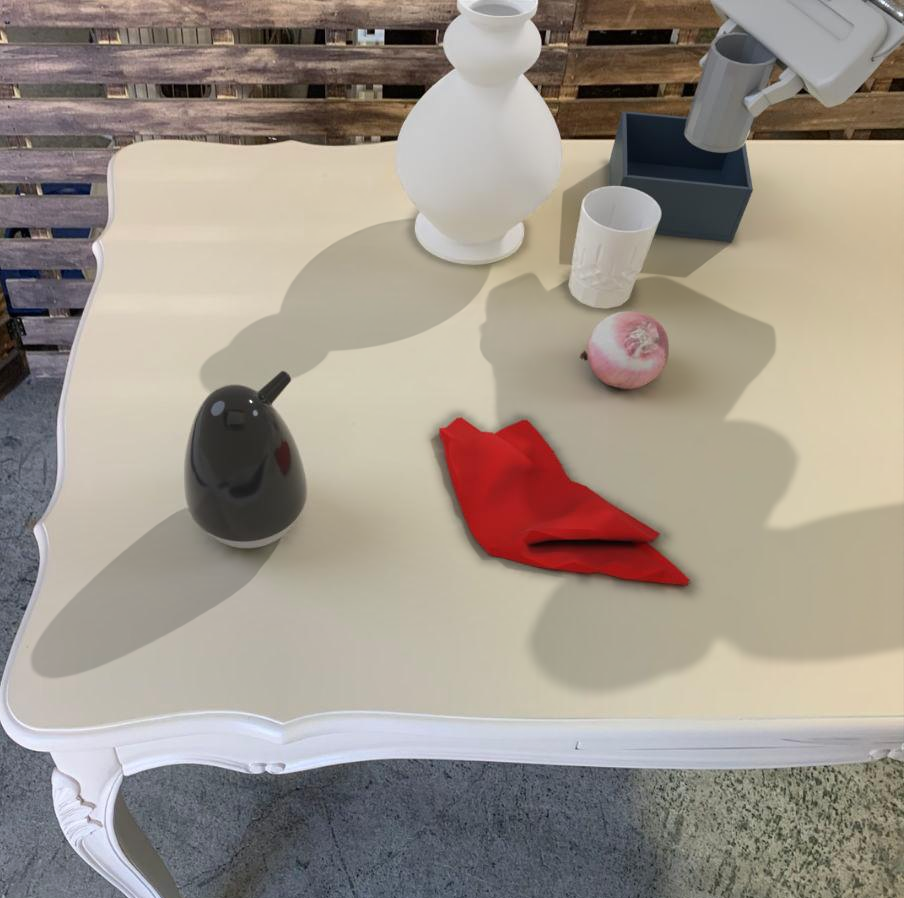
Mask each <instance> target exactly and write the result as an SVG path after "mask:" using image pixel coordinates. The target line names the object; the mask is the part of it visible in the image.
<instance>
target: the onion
mask: <svg viewBox="0 0 904 898" xmlns="http://www.w3.org/2000/svg"><path fill="white" fill-rule="evenodd" d="M669 349H670V344H669V338H668V335H667V332H666V330H665V328H664V327H663V326H662V324H661V323H660V322H659V321H658V320H657V319H656V318H654V317H652V316H651V315H648V314H646V313H644V312H640V311H633V310H631V311H630V310H629V311H628V310H627V311H626V310H625V311H619V312H618V311H617V312H615V313H613V314H611V315H608V316H606V317H605V318H604V319H602V320H601V321H600V322H598V324H597V325H596V326H595V327H594V328H593V330H592V332H591V333H590V336H589V338H588V341H587V351H586V350H583V351H582V353H581V354H580V355H579V359H581V360H582V361H584V362H585V361H588V366H589V368H590V370H591V371H592V373H593V374H594V376H595V377H596V378H597V379H598V380H599V381H601V382H602V383H603V384H605V385H607V386H610V387H614V388H615V389H617V390H619V391H621V390H634V389H637V388H641V387H643V386H645V385H648V384H649V383H651V382H652V381H654V380H655V379H656V378H658V376H660V374H662V373H663V371H664V370H665V367H666V366H667V362H668V359H669V352H670V350H669Z"/></svg>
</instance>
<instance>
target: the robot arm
mask: <svg viewBox="0 0 904 898" xmlns="http://www.w3.org/2000/svg"><path fill="white" fill-rule="evenodd" d="M897 1H898V3H899V4H900V5H898V3H896V2H895V1H894V0H709V2H710V4H711V5H712V7H713V9H714V11H715V12H716V14H717V16H718V17H719V18H720V19H721V20H722V21H723V22H724V23H723V24H722V25H721V26H720V27H719V29H718V31H717V33H716V35H715V37H718V36H720V35H722V34H726V33H734V32H738V33H748V34H750V35H751V36H752V37H753V38H754V39H756V40H757V41H758V42H759V43H760V44H762V45H763V46H764V47H765V48H766V49H768V50H769V51H770V52H771V53H772V54H774V55H775V56H776V57H777V58H778V59H777V62H776V65H775V66H777V68H779V69H780V70H781V71H782V72H781V73H780V74H779V75H778V80H779V81H777V82H775V83H773V84H770V85H769V86H767V88H765V89H763V90H761V91H762V92H761V91H760V90H759V89H758V88H757V87H755V88H754V89H753V90H752V91H751V92H750V94H749V95H747V96H745V97H744V99H743V100H742V104H743V106H744V108H745V109H746V110H747V111H748V112H749V113H750V114H751V115H752V116H753V117H755V118H757V117H758V116H760V115H761V114H762V113H763V112H764V111H765V110H766V109H767V108H768V107H769V106H770V105H771V106H772V105H775V104H777V103H780V102H783V101H786V100H788V99H791V98H793V97H794V96H795V95H797V94H798V93H799V92H800V91H801V90H802V89H804V90H805V91H806V92H807V93H809V94H810V95H811V96H812V97H813V98H814V99H816V100H817V101H818V102H819V103H820V104H821V105H823V106H824V107H825V108H832V107H836V106H839V105H843V103H845V102H846V101H847V100H848V99H849V98H850V97H851V96H853V94H855V92H856V91H857V90H858V89H859V88H861V87H862V85H863V84H864V83H865V82H866V81H867V80H868V79H869V78H870V77H871V76H872V74H873V73H874V72H875V71H876V70H877V69H878V68H879V67H880V65H882V63H883V62H884V61H885V59H886V58H887V57H888V56H889V55H891V54H892V53H893V52H894V51H895V50H896V49H898V47H899V46H901V44H903V43H904V0H897ZM707 54H708V52H706V54H704V56H703V57H702V58H700V60H699V62H698V65H699V67H700V68H701V70H703V67H704V64H705V61H706V58H707Z"/></svg>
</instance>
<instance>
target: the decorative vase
mask: <svg viewBox="0 0 904 898" xmlns="http://www.w3.org/2000/svg"><path fill="white" fill-rule="evenodd" d="M538 5H539V0H456V8H457V11H458V12H459V13H460V14H459V15H458V16H457V17H455V18H454V19H453V20H452V21H451V23H449V24H448V26H447V28H446V29H445V32H444V35H443V39H442V45H443V47H442V48H443V52H444V55H445V56H446V58H447V60H448V62H449V63H450V64H451V65H452V66H453V69H452V70H450V71H449V72H447V73H446V74H445V75H443V76H442V78H440V79H439V80H438V81H437V82H436V83H434V84H433V85H432V86H431V87H430V88H429V89H428V90H427V91H426V92H425V93H424V94H423V95H422V96H421V97H420V98H419V100H417V102H416V104H415V105H414V106H413V107H412V109H411V110H410V111H409V113H408V115H407V116H406V118H405V120H404V121H403V123H402V125H401V128H400V130H399V133H398V136H397V140H396V146H395V154H394V161H395V162H394V163H395V164H394V165H395V171H396V176H397V179H398V181H399V184H400V186H401V188H402V190H403V191H404V193H405V194H406V196H407V198H408V199H409V200H410V202H411V203H412V204H413V205H414V206H415V208H416V209H417V210H418V214H417V216H416V218H415V221H414V222H415V223H414V232H415V233H414V234H415V236H416V239H417V241H418V243H420V245H421V246H422V247H423V248H424V249H425V250H426V251H428V252H429V253H430V254H432V255H434V256H435V257H438V258H439V259H442V260H445V261H448V262H452V263H454V264H455V263H456V264H461V265H486V264H487V265H488V264H492V263H496V262H499V261H502V260H504V259H506V258H508V257H509V256H511V255H513V254H514V253H515V252H516V251H517V250H518V249H519V248H520V247H521V245H522V243H523V240H524V237H525V235H524V234H525V226H524V223H523V222H524V221H525V220H526V219H528V218H529V217H531V215H533V213H535V212H536V211H537V210H538V209H540V208H541V207H542V206H543V205H544V204H545V202H546V201H547V200H548V199H549V197H550V196H551V195H552V193H553V192H554V191H555V188H556V187H557V183H558V182H559V178H560V175H561V172H562V166H563V164H562V163H563V144H562V138H561V135H560V131H559V127H558V124H557V122H556V120H555V118H554V116H553V114H552V112H551V110H550V108H549V107H548V104H547V103H546V101H545V99H544V98H543V97H542V95H541V94H540V93H539V91H538V90H537V88H536V87H535V86H534V85H533V84H532V83H531V82H530V81H529V79H528V78H527V77H526V76H525V75H524V74H525V73H526V72H527V71H528V70H530V69H531V68H532V67H533V66H534V64H535V63H536V62H537V61H538V59H539V57H540V54H541V51H542V38H541V37H542V36H541V34H540V31H539V30H538V28H537V26H536V24H535V23H534V22H533V21H532V20H531V19H533V17H534V16H536V14H537V11H538Z"/></svg>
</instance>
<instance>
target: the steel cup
mask: <svg viewBox="0 0 904 898" xmlns="http://www.w3.org/2000/svg"><path fill="white" fill-rule="evenodd" d="M707 53H708V54H707ZM707 53H706V54H707V58H706V61H705V64H704V67H703V70H702V69H701V70H702V71H701V73H700V77H699V79H698V84H697V87H696V89H695V93H694V96H693V99H692V102H691V105H690V109H689V111H688V114H687V116H686V117H687V121H686V124H685V129H684V134H685V137H686V138H687V140H688V141H689V142H690V143H692V144H693V145H694V146H696V147H698V148H701V149H703V150H706V151H711V152H717V153H726V152H732V151H736V150H738V149H740V148H741V147H742V146H743V145H744V144H745V143H746V142H747V139H748V138H749V135H750V132H751V130H752V127H753V124H754V122H755V120H756V117H753V116H752V115H751V114H750V113H749V112H748V111H747V110H746V109H745V108H744V106H743V104H742V100H743V99H744V97H745V96H747V95H749V94H750V92H751V91H752V90H753V89H754V88H755V87H757V88H758V89H759V90H760V91H761V90H763V89H765V88H767V87H769V86H768V85H769V83H770V80H771V77H772V75H773V72H774V70H775V67H776V66H777V65H776V62H777V59H778V58H777V57H776V56H775V55H774V54H772V53H771V52H770V51H769V50H768V49H766V48H765V47H764V46H763V45H762V44H760V43H759V42H758V41H757V40H756V39H754V38H753V37H752V36H751V35H750V34H748V33H738V32H734V33H726V34H722V35H720V36H718V37H716V36H715V37H714V39H713V40H712V41H711V42H710V45H709V49H708V51H707ZM761 92H762V91H761Z"/></svg>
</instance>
